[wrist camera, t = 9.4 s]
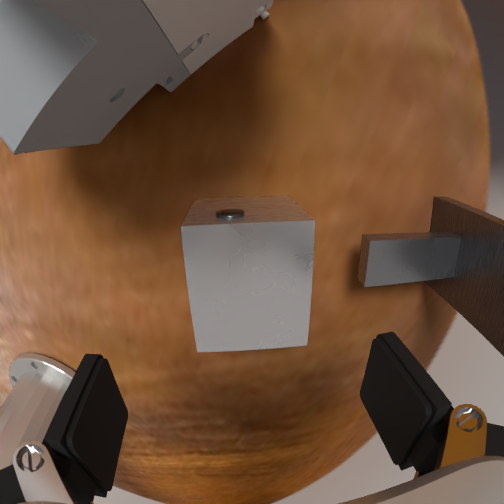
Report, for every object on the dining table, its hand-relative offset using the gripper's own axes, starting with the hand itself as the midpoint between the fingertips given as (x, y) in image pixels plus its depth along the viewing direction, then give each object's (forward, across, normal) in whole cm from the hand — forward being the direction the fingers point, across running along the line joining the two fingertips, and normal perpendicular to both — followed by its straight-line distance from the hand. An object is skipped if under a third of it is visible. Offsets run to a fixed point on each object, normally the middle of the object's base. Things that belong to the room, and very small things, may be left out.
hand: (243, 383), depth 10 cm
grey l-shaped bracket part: (+11, -13, -1) cm, 17 cm away
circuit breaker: (+12, +5, -15) cm, 20 cm away
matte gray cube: (+12, -1, -1) cm, 12 cm away
